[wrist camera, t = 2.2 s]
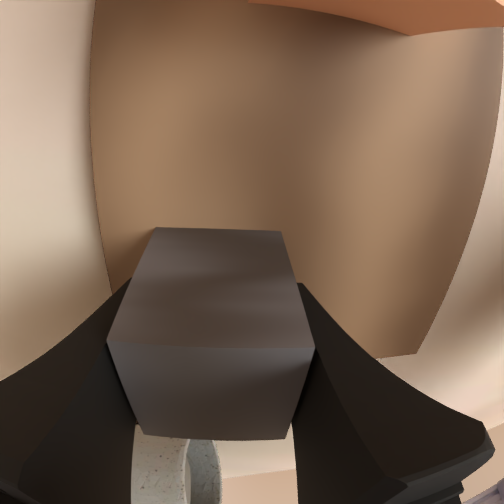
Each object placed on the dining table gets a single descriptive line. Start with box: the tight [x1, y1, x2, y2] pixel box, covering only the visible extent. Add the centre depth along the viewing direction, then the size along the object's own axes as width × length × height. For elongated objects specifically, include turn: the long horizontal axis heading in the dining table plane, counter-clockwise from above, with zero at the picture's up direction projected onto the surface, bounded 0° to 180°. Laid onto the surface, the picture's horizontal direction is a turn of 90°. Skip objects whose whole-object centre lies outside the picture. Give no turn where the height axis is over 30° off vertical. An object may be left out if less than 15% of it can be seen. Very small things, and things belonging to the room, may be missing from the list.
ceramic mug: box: [131, 424, 222, 504], centre depth 16 cm, size 11×8×8 cm
